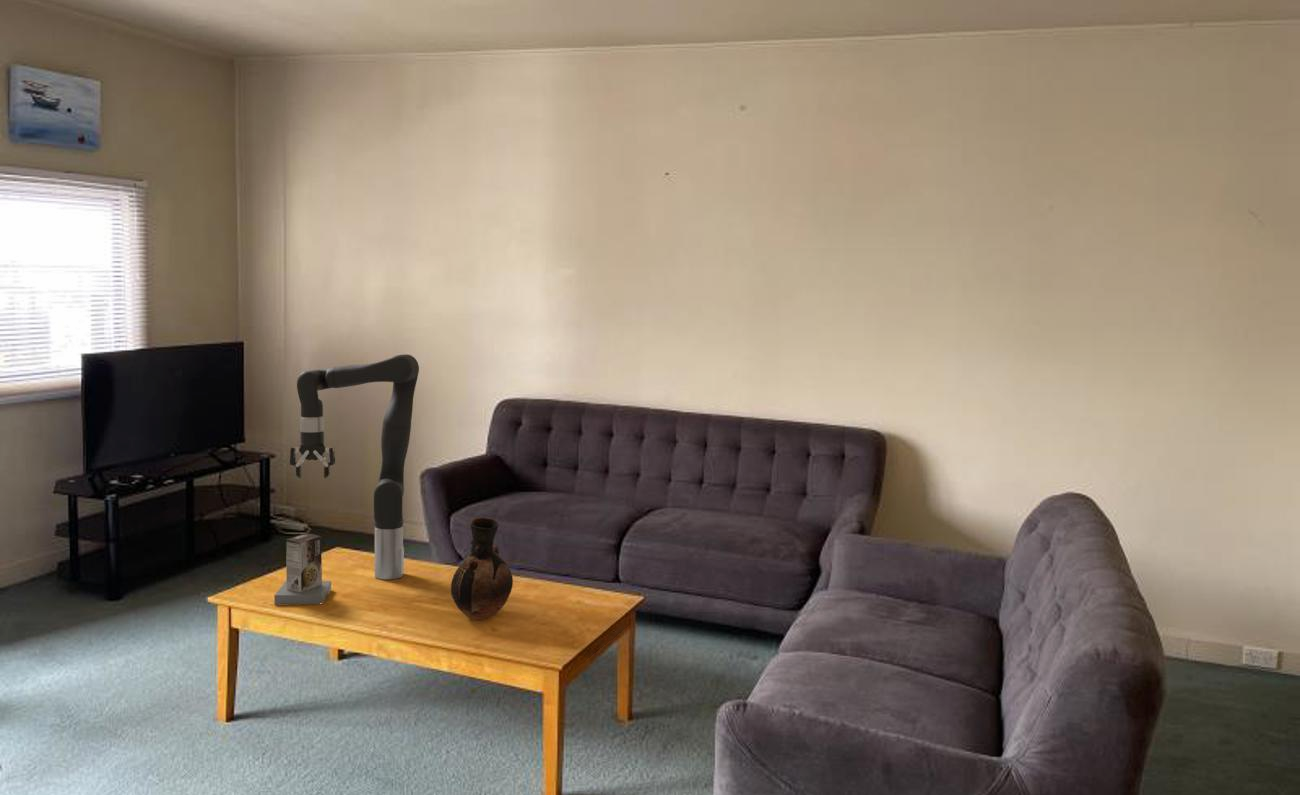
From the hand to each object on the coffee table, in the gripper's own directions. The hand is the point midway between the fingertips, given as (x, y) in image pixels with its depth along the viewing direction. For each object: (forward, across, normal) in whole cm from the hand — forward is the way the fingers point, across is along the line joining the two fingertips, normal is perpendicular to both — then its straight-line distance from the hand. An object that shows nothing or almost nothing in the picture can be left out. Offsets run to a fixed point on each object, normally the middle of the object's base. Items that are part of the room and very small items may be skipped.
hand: (312, 477), depth 327 cm
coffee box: (+30, +3, -27) cm, 40 cm away
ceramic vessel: (+35, +59, -46) cm, 82 cm away
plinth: (+33, +2, -27) cm, 43 cm away
